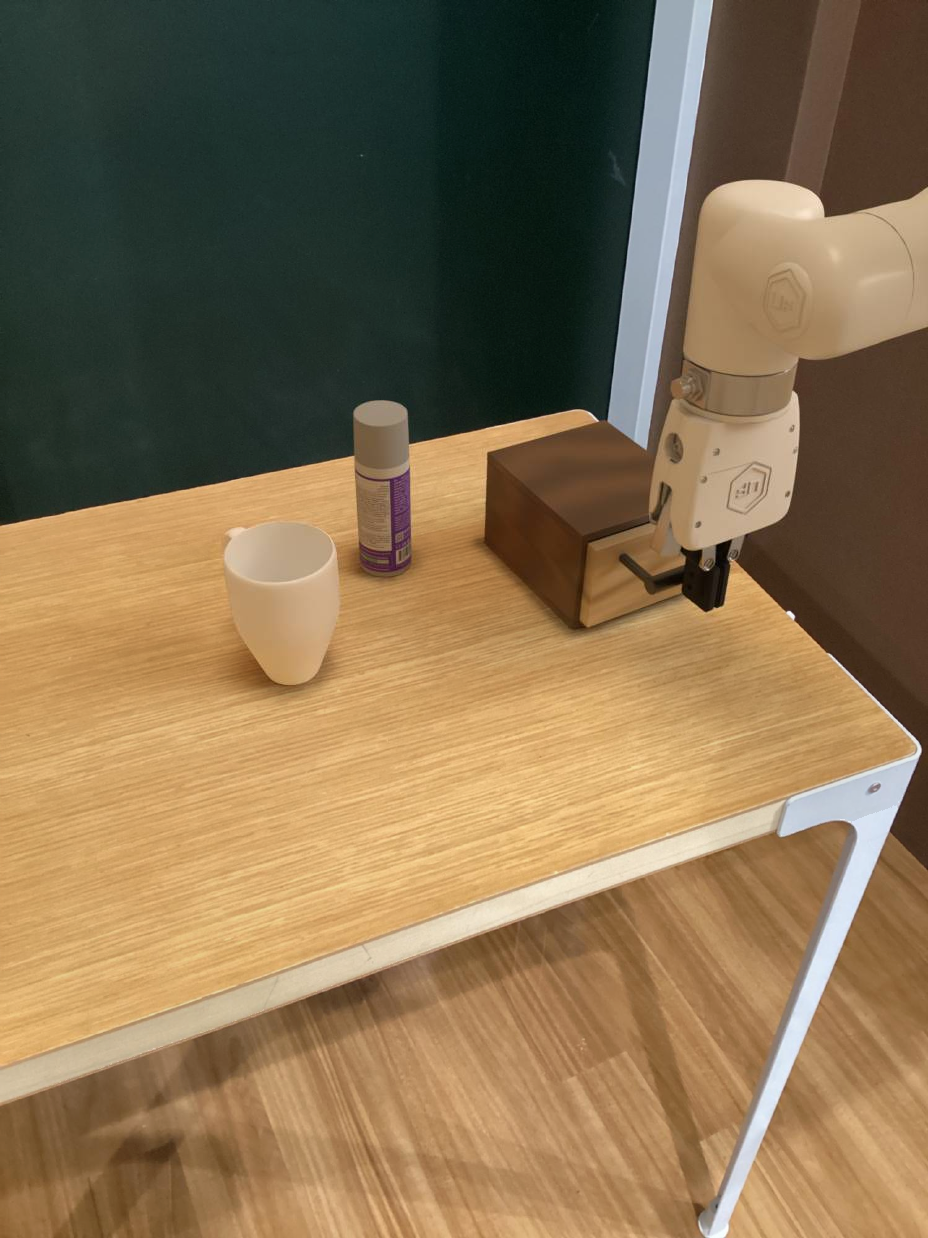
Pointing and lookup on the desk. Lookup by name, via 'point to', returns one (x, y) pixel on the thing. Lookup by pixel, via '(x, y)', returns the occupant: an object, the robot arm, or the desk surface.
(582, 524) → the cabinet
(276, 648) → the mug
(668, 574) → the drawer
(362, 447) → the container
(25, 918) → the desk surface
